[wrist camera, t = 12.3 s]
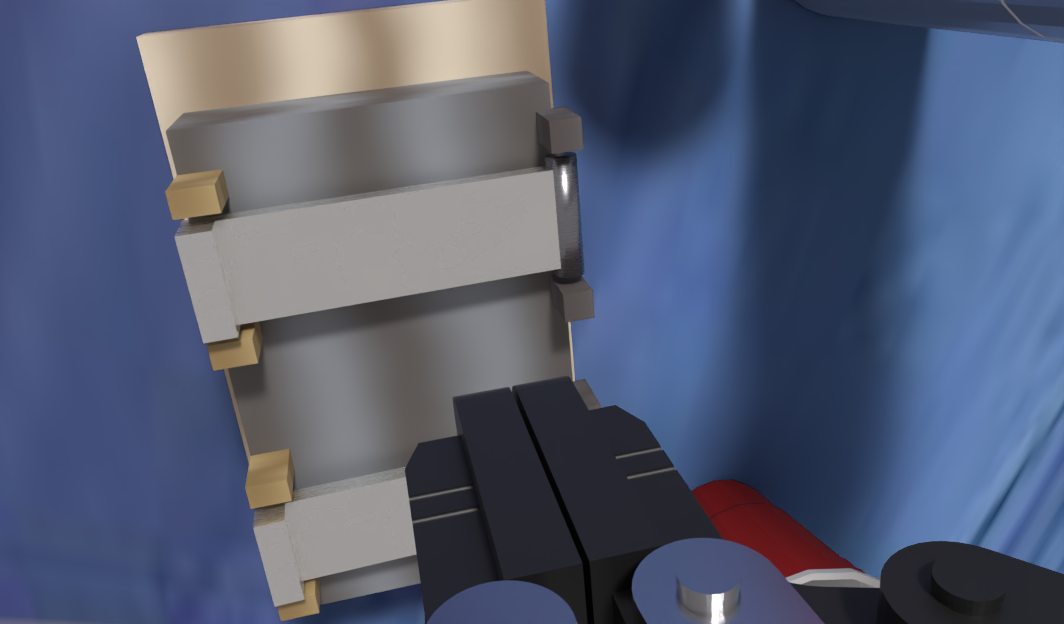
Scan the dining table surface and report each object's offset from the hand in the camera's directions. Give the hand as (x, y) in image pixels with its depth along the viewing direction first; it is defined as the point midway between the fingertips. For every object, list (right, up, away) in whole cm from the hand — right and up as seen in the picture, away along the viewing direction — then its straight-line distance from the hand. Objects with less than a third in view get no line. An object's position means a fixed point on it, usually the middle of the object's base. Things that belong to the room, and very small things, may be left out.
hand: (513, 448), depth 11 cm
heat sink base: (-6, +2, +30) cm, 31 cm away
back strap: (-4, -6, +26) cm, 27 cm away
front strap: (-5, +5, +22) cm, 23 cm away
